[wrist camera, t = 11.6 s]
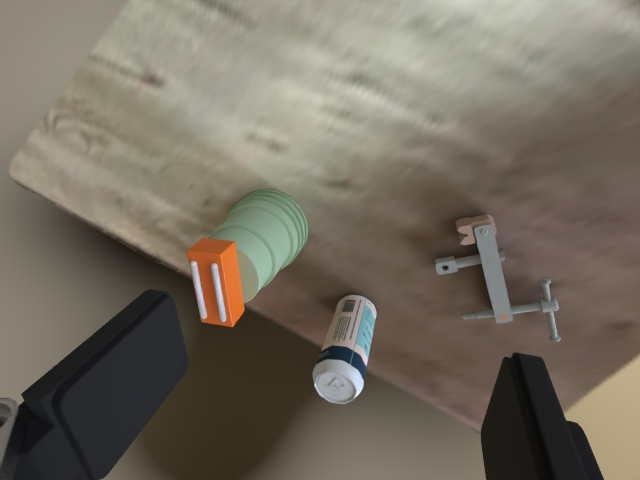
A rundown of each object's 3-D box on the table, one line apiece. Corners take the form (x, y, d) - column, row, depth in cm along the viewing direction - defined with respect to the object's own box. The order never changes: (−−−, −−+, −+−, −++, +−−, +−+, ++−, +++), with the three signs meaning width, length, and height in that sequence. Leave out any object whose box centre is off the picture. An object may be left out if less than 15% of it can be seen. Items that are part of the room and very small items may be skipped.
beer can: (330, 311, 43) (300, 387, 33) (350, 285, 41) (325, 358, 31) (363, 332, 44) (344, 415, 33) (384, 307, 41) (372, 388, 31)
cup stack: (232, 187, 40) (172, 224, 30) (306, 191, 38) (266, 233, 28) (241, 255, 43) (190, 308, 34) (309, 262, 41) (275, 321, 32)
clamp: (425, 235, 34) (543, 208, 30) (425, 226, 36) (536, 200, 32) (460, 356, 39) (566, 346, 35) (458, 343, 41) (558, 331, 37)
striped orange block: (202, 237, 30) (182, 253, 27) (235, 240, 29) (217, 257, 26) (215, 306, 33) (197, 326, 30) (245, 310, 32) (229, 331, 29)
